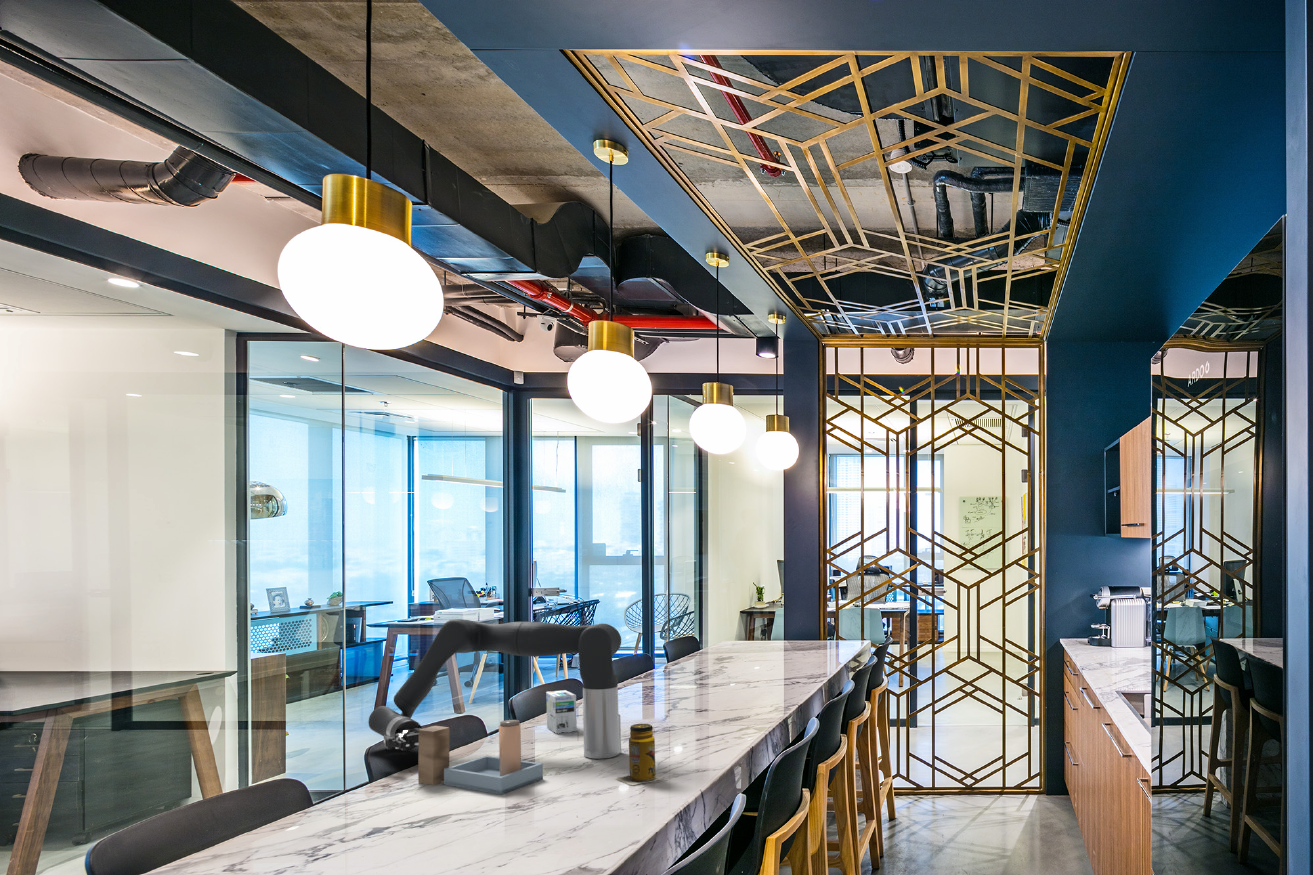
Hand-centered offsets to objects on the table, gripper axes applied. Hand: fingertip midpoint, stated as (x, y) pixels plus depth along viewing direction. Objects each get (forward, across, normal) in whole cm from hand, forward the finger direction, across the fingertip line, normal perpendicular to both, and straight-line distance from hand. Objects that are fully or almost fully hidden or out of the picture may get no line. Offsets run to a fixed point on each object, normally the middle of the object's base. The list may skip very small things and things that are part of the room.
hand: (422, 743), depth 207 cm
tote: (+20, +11, +7) cm, 24 cm away
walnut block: (+10, 0, +7) cm, 12 cm away
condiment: (+39, +39, +7) cm, 56 cm away
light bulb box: (-23, +49, +7) cm, 54 cm away
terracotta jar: (+23, +14, +6) cm, 28 cm away
